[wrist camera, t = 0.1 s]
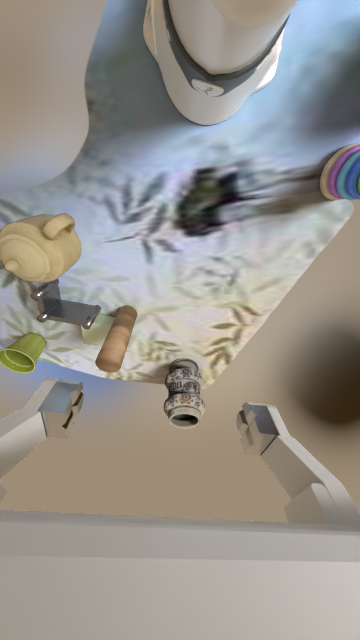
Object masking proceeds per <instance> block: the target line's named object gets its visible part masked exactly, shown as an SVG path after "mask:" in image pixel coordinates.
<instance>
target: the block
mask: <svg viewBox="0 0 360 640" xmlns="http://www.w3.org/2000/svg"><path fill="white" fill-rule="evenodd" d="M114 319H115V317H112V316H106V315H100V314H98V316H97V317H96V319H95V321H94V322H93V324H92V326H91V327H90V329H88V330H87V329H84V328H83V327H82V325H81V329H82V338H83V343H84V344H91V345H97V346H103V343H104V341H105V339H106V337H107V335H108V333H109V330H110V328H111V326H112V324H113V322H114Z"/></svg>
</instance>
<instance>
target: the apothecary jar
mask: <svg viewBox="0 0 360 640" xmlns="http://www.w3.org/2000/svg"><path fill="white" fill-rule="evenodd" d="M169 370H170V373H169V374H168V375H167V377H166V380H165V385H166V387H167V389H168V390H169V397H168V399H167V400H166V401H165V403H164V411H165V413H166V415H167V416H168V417H169V422H170V424H171V425H173V426H175V427H179V428H192V427H195V426H197V425H198V424H199V422H200V417H201V416H202V415H203V413H204V411H205V404H204V401H203V400H202V399H201V398H200V390H201V388H202V386H203V378H202V376H201V375H200V374H199V373H198V372H197V371H198V365H197V363H196V362H194V361H192V360H190V359H179V360H176V361H174V362H173V363H171V365H170V367H169Z"/></svg>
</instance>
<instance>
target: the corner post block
mask: <svg viewBox="0 0 360 640" xmlns="http://www.w3.org/2000/svg"><path fill="white" fill-rule="evenodd" d="M58 283H59V281H58V279H55V280H53V281H50V282H46V283H45V284H43V285H42V286H41V287H40V288H38V289H37V290H36V291H35V292H33V293H32V294H31V297H32V299H34V300H36V301H37V303H38V307H39V311H40V315H39V316H38V317H37V320H38V321H39V322H45V321H46V320H47V319H48V320H54V321H61V322H67V323H73V324H79V325H82V327H83V328H84V329H87V330H88V329H90V327H91V326H92V324H93V322H94V321H95V319H96V317H97V316H98V314H99V312H100V310H101V307H100V306H98V305H96V306H93V305H88V304H82V303H76V302H70V301H65V300H61V299H60V293H59V287H58Z"/></svg>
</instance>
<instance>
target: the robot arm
mask: <svg viewBox="0 0 360 640" xmlns="http://www.w3.org/2000/svg"><path fill="white" fill-rule="evenodd" d="M298 1H299V0H148V2H147V8H146V13H145V18H144V24H143V35H144V40H145V43H146V45H147V47H148V49H149V50H150V52H151V53H152V55H153V56H154V58H155V59H156V61H157V62H158V64H159V67H160V70H161V73H162V77H163V80H164V83H165V86H166V89H167V92H168V94H169V96H170V98H171V100H172V102H173V103H174V105H175V106H176V108H177V109H178V110H179V111H180V112H181V113H182V114H183V115H184V116H185V117H186V118H187V119H189V120H191V121H193V122H195V123H197V124H201V125H213V124H217V123H220V122H222V121H224V120H226V119H228V118H229V117H231V116H232V115H233V114H234V113H235V112H236V111H237V110H238V109H239V108H240V107H241V106H242V105H243V103H244V102H245V101H246V100H247V99H248V98H249V96H251V95H252V94H253V93H255V92H257V91H259V90H261V89H262V88H264V87H265V86H267V85H268V84H269V83H270V82H271V80H272V79H273V77H274V75H275V72H276V68H277V63H278V58H279V53H280V50H281V42H282V37H283V32H284V27H285V25H286V23H287V20H288V18H289V15H290V13H291V11H292V10H293V8H294V7H295V5H296V4H297V2H298ZM82 388H83V385H82V383H81V382H75V381H67V380H61V379H53V378H47V379H46V380H44V381H43V383H42V384H41V385H40V386H39V388H38V389H37V391H36V392H35V393H34V395H33V396H32V397H31V399H30V400H29V401H28V403H27V404H26V405H25V407H24V408H23V410H21V409H18V410H17V411H15V412H13V413H12V414H10V415H8V416H7V417H5V418H4V419H2V420H0V479H1V478H2V477H3V476H4V475H5V474H6V473H8V472H9V471H10V470H11V469H12V468H13V467H14V466H15V465H17V464H18V463H19V462H20V461H21V460H22V459H23V458H25V457H26V456H27V455H28V454H29V453H30V452H31V451H33V450H34V449H35V448H36V447H37V446H38V445H39V444H41V443H42V442H43V441H44V440H45V439H46V438H47V437H59V438H68V436H69V434H70V431H71V429H72V427H73V425H74V417H75V416H77V415H78V414H79V412H80V409H81V407H82V403H83V393H82V392H81V390H82ZM242 407H243V410H241V411H240V412H239V413H238V415H237V428H238V431H239V432H240V433H241V434H242V437H241V443H242V446H243V450H244V453H245V454H252V455H260V456H261V458H262V459H263V461H264V462H265V463H266V465H267V466H268V467H269V469H270V470H271V472H272V473H273V474H274V475H275V477H276V478H277V480H278V481H279V482H280V484H281V485H282V487H283V488H284V489H285V491H286V492H287V494H288V495H289V496H290V498H291V499H292V500H290V501H289V502H288V503H287V504H285V506H284V510H285V513H286V516H287V519H288V522H289V523H287V522H265V521H243V520H241V521H240V520H220V519H198V518H175V517H153V516H130V515H108V514H106V515H105V514H85V513H63V512H61V513H60V512H40V511H18V510H16V511H15V510H0V640H360V513H359V511H358V510H357V508H356V506H355V505H354V503H353V501H352V500H351V498H350V496H349V495H348V493H347V491H346V489H345V488H344V486H343V485H342V484H341V483H340V482H339V481H338V480H337V479H336V478H335V477H334V476H333V475H332V474H331V473H330V472H329V471H328V470H327V469H326V468H325V467H324V466H323V465H322V464H321V463H319V461H317V460H316V459H315V458H314V457H313V456H312V455H311V454H310V453H309V452H308V451H307V450H306V449H305V448H304V447H303V446H302V445H301V444H300V443H299V442H297V440H295V439H294V438H293V437H290V435H289V433H288V431H287V429H286V427H285V425H284V423H283V421H282V419H281V417H280V415H279V413H278V411H277V409H276V407H275V406H274V405H266V404H258V403H250V402H246V403H244V404H243V406H242ZM5 495H6V489H5V487H4V485H3V483H2V482H1V480H0V504H1V502H2V501H3V499H4V497H5Z"/></svg>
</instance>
